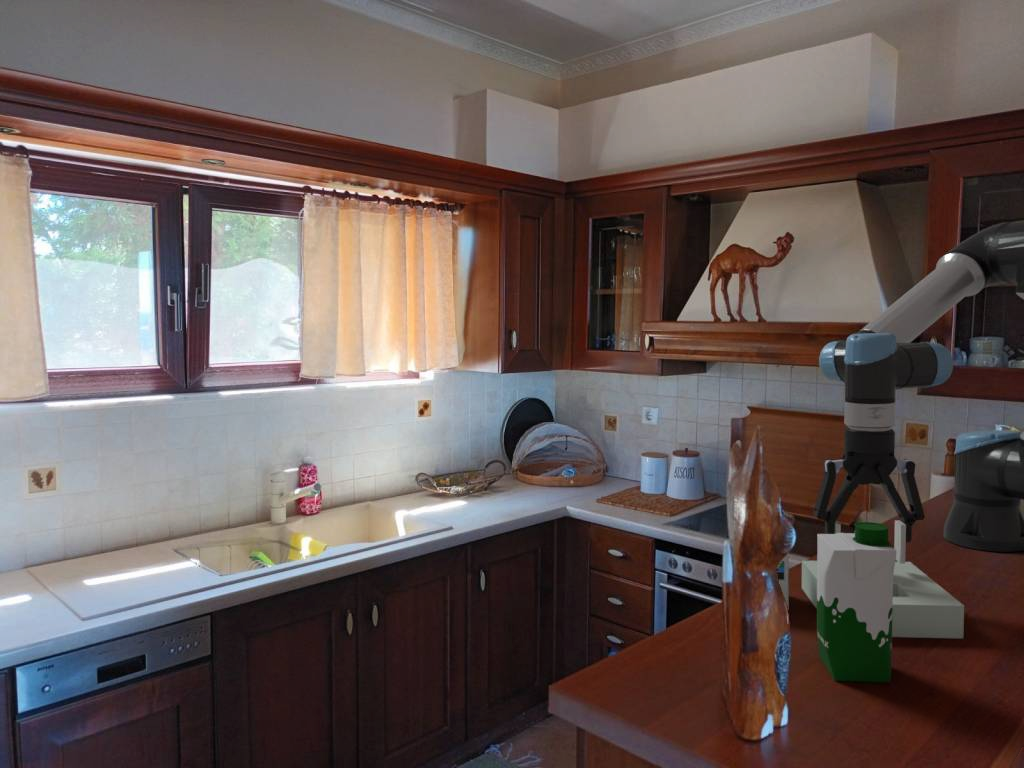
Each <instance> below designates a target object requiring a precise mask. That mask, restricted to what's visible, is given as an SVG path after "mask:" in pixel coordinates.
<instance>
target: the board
mask: <svg viewBox="0 0 1024 768" xmlns="http://www.w3.org/2000/svg"><path fill="white" fill-rule="evenodd" d="M801 589H802V590H803V592H804V593H805V595H806V596H807V598H808V599H809V600H810V602H811V603H812V604H813V606H814V607H815V609H816V610H817V560H801ZM964 620H965V605H964V604H963V603H961V602H960V601H959V600H958V599H956V597H954V596H953V595H951V594H950V593H949V592H948V591H946V590H945V589H944V588H943V587H942V586H940V585H939V584H938V583H937V582H936V581H934V580H933V579H932V578H931V577H929V576H928V575H927V574H926V573H924V572H923V570H921V569H919V568H918V567H917V566H916V565H914V564H913V563H912V562H911V561H905V564H900V563H899V562H898V561H895V566H894V573H893V610H892V638H914V639H915V638H916V639H917V638H919V639H920V638H923V639H926V638H927V639H928V638H929V639H962V640H963V639H964V632H965V631H964V630H965V629H964V627H965V626H964V624H965V621H964Z"/></svg>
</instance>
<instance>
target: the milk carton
mask: <svg viewBox="0 0 1024 768" xmlns="http://www.w3.org/2000/svg"><path fill="white" fill-rule="evenodd" d="M854 526H855V527H854V533H851V532H847V533H845V532H841V533H836V534H825V533H817V537H816V538H817V539H816V540H817V543H816V544H817V547H816V548H817V554H816V555H817V557H816V561H817V609H816V633H817V634H816V635H817V637H816V638H817V645H818V646H817V647H818V658H819V659H820V661H821V662H822V664H823V665H824V666H825V668H826V670H827V672H829V674H830V676H831V677H832V679H833V680H834V681H835V682H863V683H864V682H865V683H866V682H868V683H869V682H870V683H871V682H872V683H891V681H892V679H891V677H892V652H893V651H892V648H893V637H892V610H893V573H894V566H895V562H896V561H897V560H896V553H897V551H896V550H895V549H894V545H891V542H890V541H889V527H888V526H887V525H886V524H881V523H877V522H869V521H868V522H867V521H866V522H865V521H863V522H858V523H855V525H854Z"/></svg>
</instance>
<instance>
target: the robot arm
mask: <svg viewBox="0 0 1024 768" xmlns="http://www.w3.org/2000/svg"><path fill="white" fill-rule="evenodd" d="M935 265H936V266H935V268H934V270H933V271H931V272H930V273H928V274H927V275H926V276H924V278H922V280H920V281H919V282H918V283H916V284H915V285H914V286H913V287H912V288H910V289H909V290H908V291H907V292H905V293H904V294H903V295H901V297H900V298H898V299H896V301H894V302H893V303H892V304H890V305H889V306H888V307H887V308H886V309H885V310H883V311H882V312H881V313H880V314H878V315H877V316H876V317H875V318H874V319H873V320H871V321H870V322H869V323H867V324H866V325H865V326H863V328H862V329H860V330H859V331H857V332H855V333H852V334H850V335H849V336H848V337H847V338H846V340H843V339H841V340H838V341H837V340H836V341H830V342H829V343H826V345H824V346H823V348H822V350H821V351H820V354H819V358H818V359H819V360H818V365H819V368H820V371H821V373H822V375H824V377H826V378H827V379H828V380H831V381H837V382H841V383H844V414H843V415H844V418H843V421H844V422H843V423H844V425H845V426H847V427H846V428H845V429H844V430H843V431H844V434H843V435H844V436H843V455H842V457H841V459H835V460H830V459H828V458H826V459H825V460H823V472H824V473H823V477H822V479H821V484H820V487H819V490H818V494H817V498H816V502H815V505H814V508H813V515H814V517H816V518H817V519H818V520H820V521H823V522H824V534H836V533H842V532H841V530H842V529H841V526H842V525H841V523H840V522H838V521H837V520H838V519H839V517H840V515H841V514H842V512H843V510H844V508H845V506H846V505H847V503H848V501H849V500H850V498H851V496H852V495H853V493H854V491H855V490H857V488H858V487H859V486H860V485H869V484H872V485H880V486H881V487H882V489H883V491H884V492H885V494H886V495H887V498H888V500H889V501H890V503H891V505H892V506H893V508H894V510H895V512H896V514H897V516H898V517H899V519H900V520H898V519H896V520H894V542H893V543H894V545H893V547H894V549H895V550H896V551H897V553H896V560H895V561H896V562H899V563H900V564H905V562H906V549H907V548H906V545H907V544H906V543H911V541H912V537H913V536H912V532H913V531H912V530H913V529H912V528H913V527H912V526H914V525H915V522H917V521H923V520H925V518H926V517H925V516H926V515H925V512H924V508H923V504H922V501H921V496H920V493H919V488H918V485H917V481H916V478H915V472H916V463H915V462H914V461H912V460H910V459H908V458H903V459H896V455H895V447H896V446H895V442H896V440H895V439H896V432H895V431H894V429H892V428H893V427H894V426H896V393H897V392H896V390H900V389H901V390H902V389H915V388H925V389H928V388H930V387H934V386H940V385H942V384H943V383H945V382H947V381H948V379H949V378H950V377H951V375H952V374H953V369H954V360H953V359H954V358H953V357H952V356H953V355H952V354H951V352H950V350H949V349H948V348H947V347H946V346H944V345H943V344H941V343H938V342H929V341H920V342H913V341H914V340H915V339H916V338H918V337H919V336H921V334H922V333H923V332H925V331H926V330H927V329H928V328H930V327H931V326H932V325H933V324H934V323H935V322H937V321H938V320H939V319H940V318H941V317H943V315H945V314H946V313H947V312H948V311H951V309H952V308H954V307H955V306H956V305H957V304H958V303H959V302H961V301H962V300H963V299H964V298H965V297H973V296H975V295H977V294H979V293H980V292H981V291H982V290H983V289H985V288H987V287H991V286H995V285H998V284H999V285H1000V284H1015V294H1016V295H1017V296H1018V297H1020V298H1021V299H1023V301H1024V219H1022V220H1015V221H1006V222H1001V223H1000V222H999V223H997V224H994V225H991V226H989V227H987V228H984V229H982V230H979V231H978V232H976V233H975V234H973V235H971V236H969V237H967V238H966V239H965V240H963V241H961V242H960V243H959V244H956V246H954V247H953V248H951V249H950V250H948V252H946V253H945V254H944V255H943V256H941V257H940V258H939V259H938V261H937V263H936V264H935ZM953 454H954V489H953V490H954V492H953V494H954V495H953V496H954V497H953V504H952V505H951V508H950V511H949V513H948V516H947V518H946V521H945V523H944V525H943V538H944V539H945V540H946V541H947V542H950V543H951V544H954V545H957V546H961V547H965V548H968V549H973V550H980V551H988V552H1004V553H1005V552H1006V553H1007V552H1010V553H1011V552H1020V551H1024V515H1023V511H1022V509H1021V500H1023V501H1024V431H1021V430H1011V429H997V430H995V429H993V430H978V431H967V432H963V433H960V434H958V436H957V438H956V440H955V450H954V452H953ZM841 468H843V469H844V470H845V472H846V473H847V474H846V476H845V477H844V479H843V482H842V485H840V488H839V490H838V491H837V493H836V494H835V497H834V498H833V500H832V502H831V503H830V500H831V497H832V493H833V489H834V485H835V483H836V478H837V475H838V474H839V473H840V470H841ZM896 468H897V471H898V472H899V473H900V476H901V480H902V484H903V488H904V491H905V496H906V499H907V504H908V506H909V510H908V508H907V506H906V505H905V503H904V501H903V499H902V497H901V496H900V493H899V492H898V490H897V488H896V487H895V484H894V482H893V479H892V478H891V474H892V473H893V472H894V470H895V469H896ZM829 503H830V504H829Z"/></svg>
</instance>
